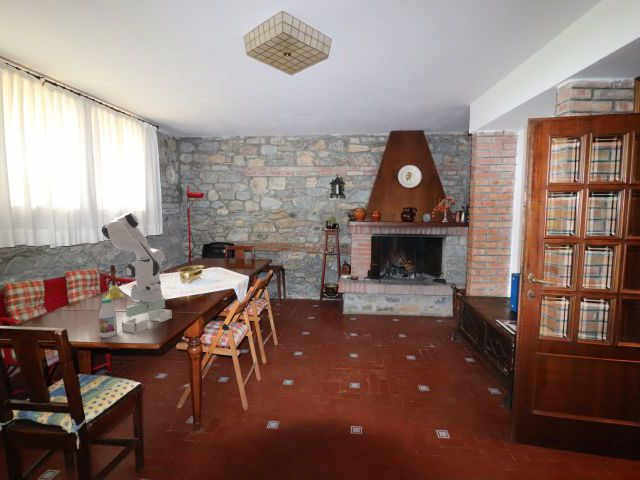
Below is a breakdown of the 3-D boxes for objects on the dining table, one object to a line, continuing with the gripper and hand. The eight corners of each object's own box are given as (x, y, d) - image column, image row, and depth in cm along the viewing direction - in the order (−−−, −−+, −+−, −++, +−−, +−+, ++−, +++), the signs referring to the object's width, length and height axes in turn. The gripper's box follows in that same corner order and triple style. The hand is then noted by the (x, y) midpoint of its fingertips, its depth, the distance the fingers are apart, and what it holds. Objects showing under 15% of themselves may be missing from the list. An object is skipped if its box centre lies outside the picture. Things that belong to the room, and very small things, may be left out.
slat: (129, 317, 179) (128, 307, 178) (126, 315, 181) (125, 306, 180) (165, 307, 196) (164, 298, 196) (161, 306, 198) (161, 297, 198)
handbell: (117, 299, 241) (115, 266, 238) (101, 299, 241) (98, 266, 239) (127, 294, 253) (125, 263, 251) (112, 294, 253) (110, 263, 251)
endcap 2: (159, 315, 204) (159, 308, 203) (171, 317, 200) (171, 310, 200) (149, 320, 196) (148, 312, 196) (161, 322, 193) (161, 314, 192)
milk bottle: (105, 332, 177) (103, 297, 175) (120, 332, 177) (117, 297, 175) (97, 338, 169) (94, 301, 167) (112, 337, 170) (109, 301, 168)
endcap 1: (135, 333, 176) (134, 324, 175) (122, 330, 179) (121, 322, 179) (147, 327, 183) (147, 319, 183) (134, 325, 187) (134, 317, 186)
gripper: (127, 285, 188) (128, 307, 189) (153, 288, 181) (154, 311, 182) (136, 282, 194) (137, 305, 195) (162, 285, 187) (163, 308, 188)
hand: (146, 308), depth 188 cm, fingers closed on slat, 4 cm apart
